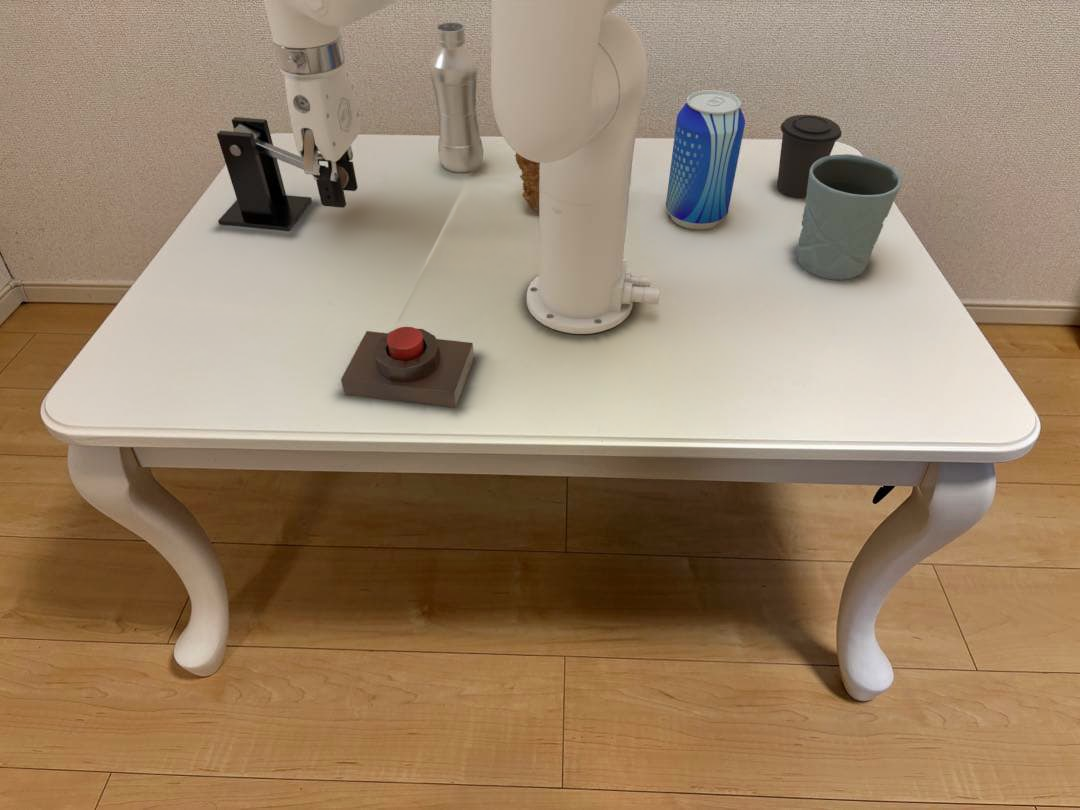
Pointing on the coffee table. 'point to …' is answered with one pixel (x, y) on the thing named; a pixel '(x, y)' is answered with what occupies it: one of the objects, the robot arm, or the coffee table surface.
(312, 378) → the coffee table surface
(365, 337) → the button block
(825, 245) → the green embossed tumbler
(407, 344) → the button
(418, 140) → the coffee table surface
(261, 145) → the lever
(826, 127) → the coffee cup
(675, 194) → the beer can
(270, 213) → the bracket
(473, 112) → the silver metal bottle
